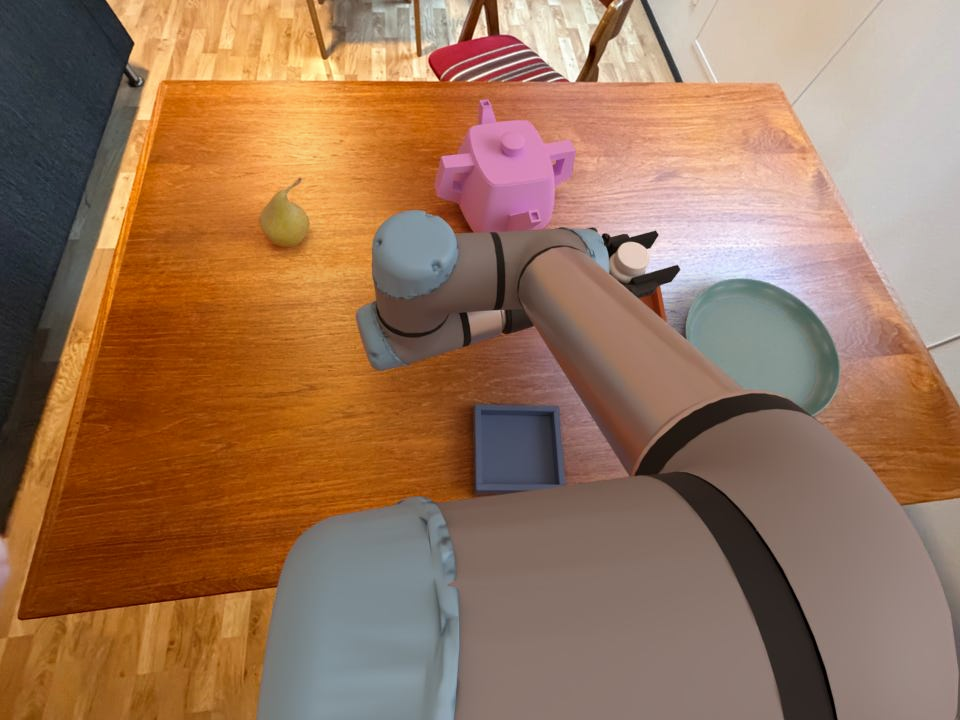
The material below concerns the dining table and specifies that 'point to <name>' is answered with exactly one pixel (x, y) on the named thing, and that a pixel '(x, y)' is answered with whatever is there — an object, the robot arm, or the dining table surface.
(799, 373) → the saucer
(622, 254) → the pill bottle
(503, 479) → the blue tray
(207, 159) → the dining table surface
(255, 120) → the dining table surface
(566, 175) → the teapot
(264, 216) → the fruit
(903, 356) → the dining table surface
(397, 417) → the dining table surface
